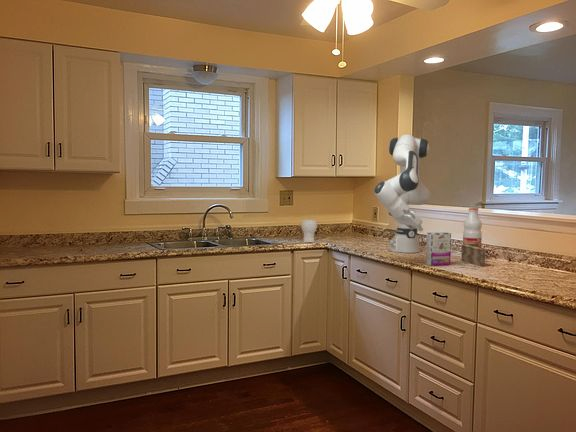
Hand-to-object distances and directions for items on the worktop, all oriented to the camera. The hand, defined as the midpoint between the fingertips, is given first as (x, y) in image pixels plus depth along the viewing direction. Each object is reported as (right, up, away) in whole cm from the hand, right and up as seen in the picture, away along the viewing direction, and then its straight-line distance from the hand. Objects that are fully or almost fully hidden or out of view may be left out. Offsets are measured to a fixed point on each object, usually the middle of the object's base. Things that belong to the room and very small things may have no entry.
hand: (417, 229), depth 241 cm
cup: (-50, -11, +90) cm, 104 cm away
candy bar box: (+12, -18, +4) cm, 22 cm away
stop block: (+31, -18, +9) cm, 37 cm away
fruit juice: (+36, -17, +24) cm, 46 cm away
